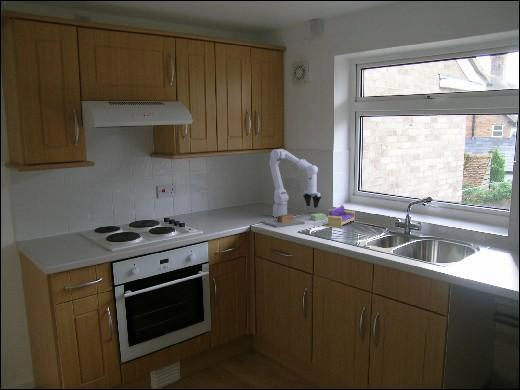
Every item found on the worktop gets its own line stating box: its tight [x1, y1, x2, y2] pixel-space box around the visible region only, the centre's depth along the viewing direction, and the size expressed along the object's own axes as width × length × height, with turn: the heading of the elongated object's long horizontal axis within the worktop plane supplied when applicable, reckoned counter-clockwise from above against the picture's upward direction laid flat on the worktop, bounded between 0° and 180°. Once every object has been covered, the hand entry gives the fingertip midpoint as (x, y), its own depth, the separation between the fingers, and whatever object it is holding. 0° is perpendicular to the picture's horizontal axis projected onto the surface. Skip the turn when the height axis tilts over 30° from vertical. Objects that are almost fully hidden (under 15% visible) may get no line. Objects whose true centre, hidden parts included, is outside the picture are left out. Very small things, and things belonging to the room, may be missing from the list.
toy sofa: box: [327, 205, 356, 229], centre depth 269 cm, size 21×9×10 cm, turn 146°
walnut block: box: [276, 213, 294, 223], centre depth 274 cm, size 6×8×4 cm
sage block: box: [309, 212, 327, 222], centre depth 285 cm, size 6×8×4 cm
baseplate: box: [260, 218, 305, 228], centre depth 275 cm, size 18×20×1 cm
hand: (312, 206), depth 282 cm, fingers open, 7 cm apart
